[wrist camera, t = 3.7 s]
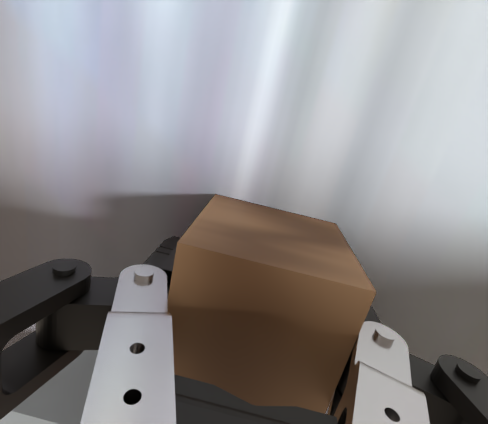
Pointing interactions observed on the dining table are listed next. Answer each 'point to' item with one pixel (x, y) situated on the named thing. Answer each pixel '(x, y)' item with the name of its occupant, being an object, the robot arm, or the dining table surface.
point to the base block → (58, 396)
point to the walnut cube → (266, 304)
